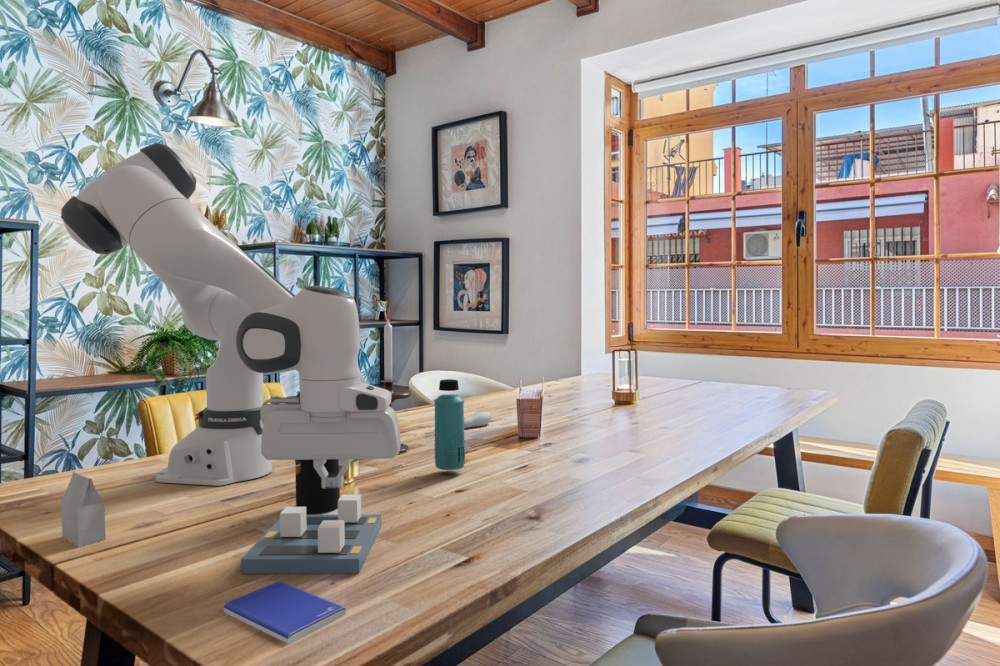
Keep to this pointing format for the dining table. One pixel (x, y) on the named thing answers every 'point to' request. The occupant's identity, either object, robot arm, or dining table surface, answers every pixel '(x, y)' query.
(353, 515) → the tab
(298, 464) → the wine bottle
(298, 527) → the tab
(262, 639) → the dining table surface
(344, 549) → the switch board
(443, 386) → the beverage bottle
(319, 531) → the tab
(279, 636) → the hard drive
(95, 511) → the grey gabled box
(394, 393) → the candlestick
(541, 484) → the dining table surface
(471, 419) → the screwdriver
